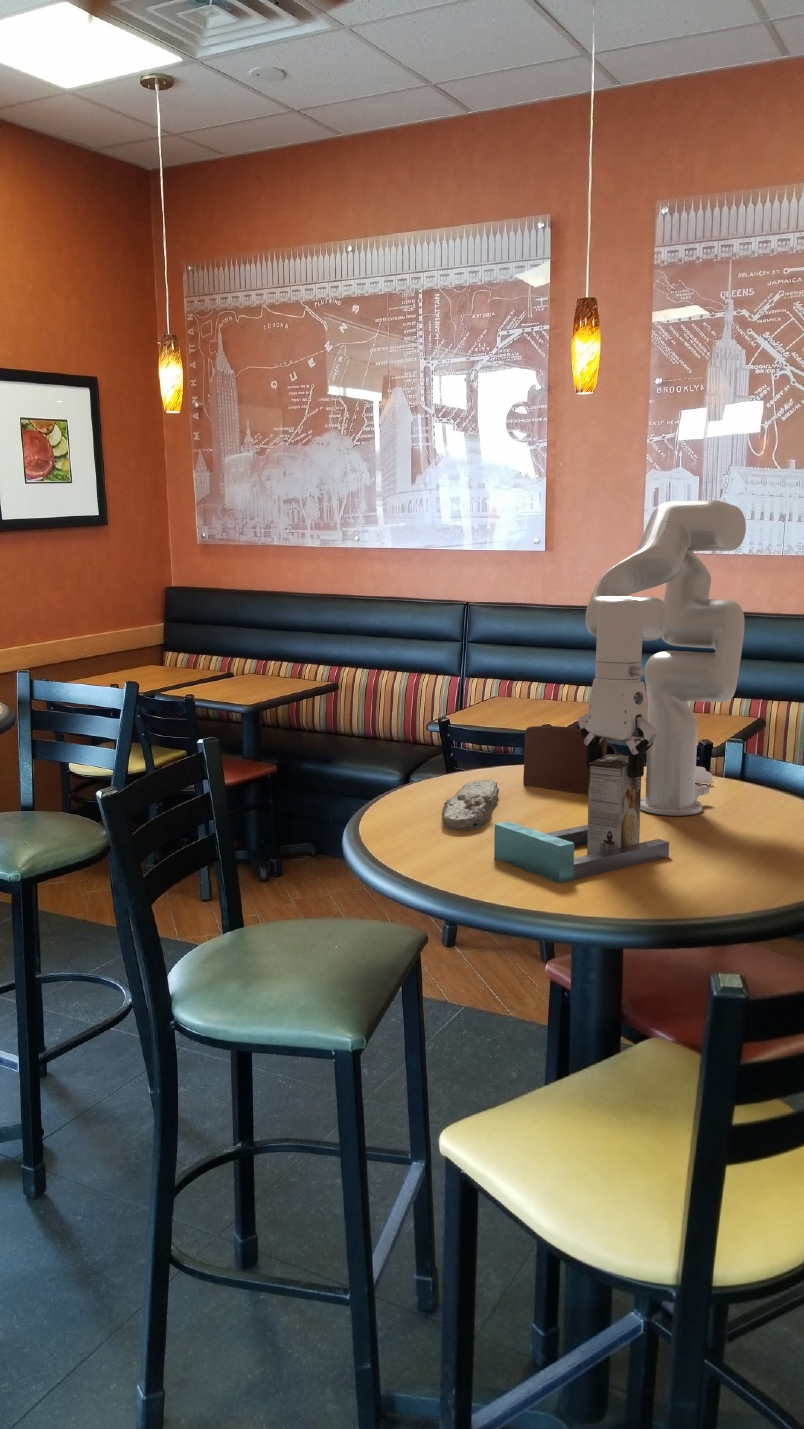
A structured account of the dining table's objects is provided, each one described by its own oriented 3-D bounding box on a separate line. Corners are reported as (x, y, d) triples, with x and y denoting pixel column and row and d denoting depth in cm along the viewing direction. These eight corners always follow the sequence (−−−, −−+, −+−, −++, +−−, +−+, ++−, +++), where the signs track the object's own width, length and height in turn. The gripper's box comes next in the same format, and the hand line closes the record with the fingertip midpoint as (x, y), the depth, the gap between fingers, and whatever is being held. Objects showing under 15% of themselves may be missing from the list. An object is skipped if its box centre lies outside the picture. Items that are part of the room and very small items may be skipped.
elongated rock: (507, 798, 223) (461, 799, 225) (506, 774, 222) (460, 775, 225) (487, 833, 189) (433, 833, 191) (486, 804, 188) (432, 805, 190)
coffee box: (605, 841, 185) (607, 753, 182) (640, 846, 181) (643, 756, 179) (585, 854, 177) (588, 762, 175) (621, 859, 174) (624, 766, 171)
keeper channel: (600, 835, 189) (601, 803, 188) (668, 856, 176) (670, 822, 175) (494, 858, 175) (494, 823, 174) (559, 883, 162) (559, 846, 161)
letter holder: (603, 798, 217) (605, 732, 214) (522, 785, 229) (523, 723, 226) (625, 790, 224) (627, 725, 222) (545, 777, 236) (546, 717, 234)
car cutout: (715, 784, 231) (716, 764, 230) (710, 790, 225) (711, 770, 224) (648, 778, 237) (648, 759, 236) (641, 784, 231) (642, 764, 230)
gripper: (673, 675, 169) (668, 778, 172) (597, 667, 183) (594, 762, 186) (641, 677, 165) (636, 783, 167) (566, 669, 179) (563, 766, 181)
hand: (614, 772), depth 177 cm, fingers open, 9 cm apart
